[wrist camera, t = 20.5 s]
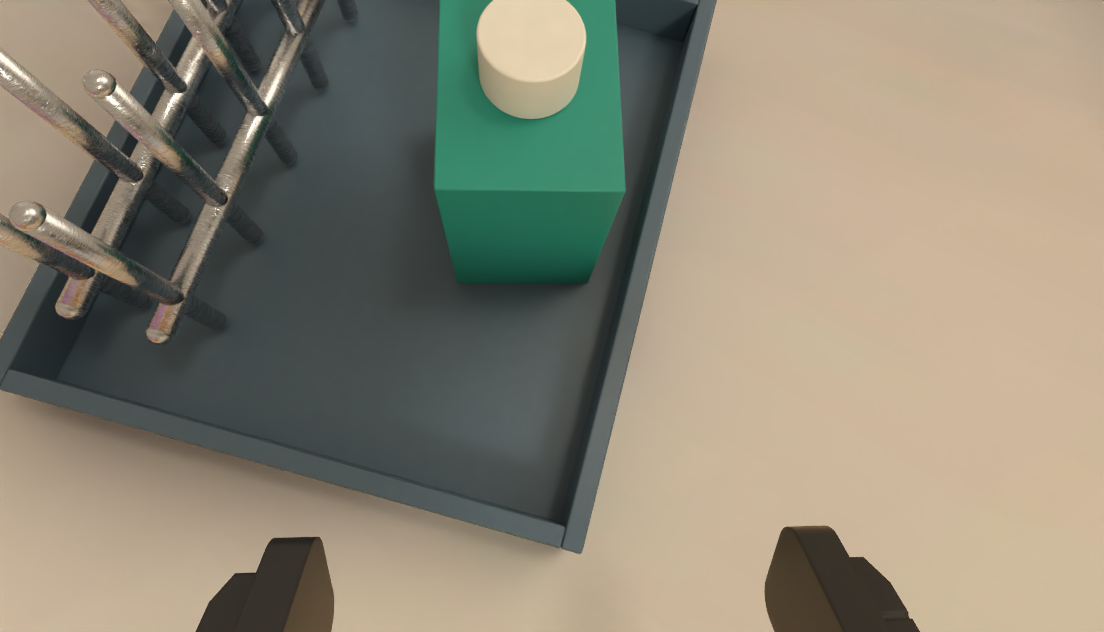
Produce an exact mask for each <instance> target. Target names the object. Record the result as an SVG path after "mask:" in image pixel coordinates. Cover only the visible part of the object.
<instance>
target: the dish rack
mask: <svg viewBox="0 0 1104 632" xmlns="http://www.w3.org/2000/svg"><path fill="white" fill-rule="evenodd" d="M88 1H89V3H90V4H91V5H92V6H93V7H94V8H95V9H96V11H97V12H98V13H99V14H100V15H101V16H102V17H103V19H104V20H105V21H106V22H107V23H108V24H109V25H110V27H111V28H112V29H113V30H114V31H115V32H116V34H117V35H118V36H119V37H120V38H121V39H122V40H123V42H124V43H125V44H126V45H127V46H128V47H129V48H130V50H131V51H132V52H133V53H134V54H135V55H136V56H137V58H138V59H139V60H140V61H141V62H142V63H143V65H144V66H145V67H146V68H147V69H148V70H149V71H150V73H151V74H152V75H153V76H154V77H155V78H156V79H157V81H158V82H159V83H160V84H161V85H162V86H163V88H164V89H165V90H164V92H163V94H162V96H161V98H160V100H159V102H158V104H157V106H156V108H155V110H154V112H153V114H152V116H151V115H150V114H149V113H148V112H147V111H146V110H145V108H144V107H143V106H142V105H141V104H140V103H139V102H138V101H137V100H136V99H135V98H134V97H133V96H132V95H131V94H130V93H129V92H128V91H127V90H126V89H125V88H124V87H123V86H122V85H121V84H120V83H119V82H118V81H117V80H116V79H115V78H114V77H113V76H112V75H111V74H110V73H108V72H106V71H103V70H92V71H89V72H88V73H86V74H85V76H84V78H83V87H84V89H85V91H86V92H87V94H88V95H89V96H90V97H92V98H93V99H94V100H95V101H96V102H97V103H98V104H99V105H100V106H101V107H102V108H103V109H104V110H106V111H107V112H108V113H109V114H110V115H111V116H112V117H113V118H114V119H115V120H116V121H117V122H119V123H120V124H121V125H122V126H123V127H124V128H125V129H126V130H127V131H128V132H129V133H130V134H132V135H133V136H134V137H135V138H136V139H137V140H138V143H137V145H136V147H135V149H134V151H133V153H132V155H131V157H130V158H129V157H128V156H126V155H125V154H124V153H123V152H122V151H121V150H119V149H118V148H117V147H116V146H115V145H114V144H112V143H111V142H110V141H109V140H108V139H107V138H105V137H104V136H103V135H102V134H101V133H100V132H98V131H97V130H96V129H95V128H94V127H93V126H91V125H90V124H89V123H88V122H87V121H86V120H84V119H83V118H82V117H81V116H80V115H79V114H77V113H76V112H75V111H74V110H73V109H72V108H70V107H69V106H68V105H67V104H66V103H65V102H63V101H62V100H61V99H60V98H59V97H58V96H56V95H55V94H54V93H53V92H52V91H51V90H49V89H48V88H47V87H46V86H45V85H44V84H42V83H41V82H40V81H39V80H38V79H37V78H35V77H34V76H33V75H32V74H31V73H30V72H28V71H27V70H26V69H25V68H24V67H23V66H21V65H20V64H19V63H18V62H17V61H16V60H14V59H13V58H12V57H11V56H10V55H9V54H7V53H6V52H5V51H4V50H3V49H2V48H0V86H2V87H3V88H4V89H5V90H7V91H8V92H9V93H11V94H12V95H13V96H14V97H16V98H17V99H18V100H20V101H21V102H22V103H23V104H25V105H26V106H27V107H28V108H30V109H31V110H32V111H34V112H35V113H36V114H37V115H39V116H40V117H41V118H43V119H44V120H45V121H46V122H48V123H49V124H50V125H51V126H53V127H54V128H55V129H57V130H58V131H59V132H60V133H62V134H63V135H64V136H66V137H67V138H68V139H69V140H71V141H72V142H73V143H74V144H76V145H77V146H78V147H80V148H81V149H82V150H83V151H85V152H86V153H87V154H89V155H90V156H91V157H92V158H94V159H95V160H96V161H97V162H99V163H100V164H101V165H103V166H104V167H105V168H106V169H108V170H109V171H110V172H112V173H113V174H114V175H115V176H117V177H118V178H119V180H118V182H117V184H116V186H115V188H114V190H113V192H112V194H111V196H110V198H109V200H108V202H107V204H106V206H105V208H104V210H103V212H102V214H101V216H100V218H99V220H98V222H97V224H96V226H95V228H94V229H93V231H92V233H91V234H89V233H88V232H86V231H84V230H83V229H81V228H79V227H78V226H76V225H74V224H73V223H71V222H69V221H68V220H66V219H64V218H63V217H61V216H59V215H58V214H56V213H54V212H52V211H51V210H49V209H47V208H46V207H44V206H42V205H41V204H39V203H36V202H32V201H22V202H19V203H17V204H15V205H14V206H13V207H12V208H11V209H10V212H9V218H7V217H5V216H3V215H1V214H0V245H2V246H4V247H6V248H8V249H11V250H13V251H15V252H17V253H19V254H21V255H23V256H26V257H28V258H30V259H32V260H34V261H36V262H38V263H41V264H43V265H45V266H47V267H49V268H51V269H53V270H56V271H58V272H60V273H62V274H64V275H66V276H68V277H69V279H68V281H67V283H66V284H65V286H64V288H63V290H62V292H61V294H60V296H59V298H58V300H57V302H56V305H55V309H56V312H57V314H58V315H59V316H60V317H62V318H64V319H67V320H77V319H79V318H81V317H83V316H84V315H85V314H86V312H87V310H88V308H89V306H90V304H91V302H92V300H93V298H94V296H95V294H96V292H97V290H98V291H100V292H103V293H105V294H107V295H109V296H111V297H113V298H115V299H118V300H120V301H122V302H124V303H126V304H128V305H130V306H132V307H135V308H138V309H141V308H145V307H147V306H148V305H149V304H150V302H151V298H152V299H154V300H156V301H158V304H157V306H156V308H155V310H154V312H153V315H152V317H151V319H150V321H149V323H148V325H147V328H146V331H145V334H146V337H147V339H148V340H149V341H150V342H151V343H152V344H155V345H166V344H168V343H170V342H171V341H172V340H173V339H174V337H175V335H176V333H177V331H178V329H179V326H180V324H181V322H182V320H183V318H184V315H185V316H187V317H189V318H191V319H193V320H195V321H197V322H199V323H200V324H202V325H204V326H206V327H208V328H210V329H212V330H221V329H223V328H224V327H225V326H226V325H227V321H228V320H227V317H226V315H225V314H224V313H222V312H221V311H219V310H217V309H216V308H214V307H212V306H211V305H209V304H207V303H206V302H204V301H202V300H200V299H199V298H197V297H195V296H194V293H195V291H196V289H197V286H198V284H199V282H200V280H201V277H202V275H203V273H204V271H205V268H206V266H207V264H208V262H209V260H210V257H211V255H212V253H213V251H214V248H215V246H216V244H217V242H218V239H219V237H220V235H221V233H222V231H223V228H224V226H225V224H226V222H227V223H228V224H229V225H230V226H231V227H232V228H233V229H234V230H235V231H236V232H237V233H239V234H240V235H241V236H242V237H243V238H244V239H245V240H246V241H247V242H249V243H251V244H258V243H260V242H261V241H262V240H263V238H264V232H263V230H262V229H261V228H260V227H259V226H258V225H257V224H256V223H255V222H254V221H253V220H252V219H251V218H250V217H249V216H248V215H247V214H246V213H245V212H244V211H243V209H242V208H241V207H240V206H239V205H238V204H237V203H236V199H237V197H238V195H239V193H240V190H241V188H242V186H243V184H244V182H245V179H246V177H247V175H248V173H249V170H250V168H251V166H252V164H253V161H254V159H255V157H256V155H257V153H258V150H259V148H260V146H261V144H262V141H263V139H264V137H265V139H266V140H267V141H268V143H269V144H270V146H271V147H272V149H273V150H274V151H275V153H276V154H277V156H278V157H279V159H280V160H281V161H282V162H283V163H285V164H293V163H295V162H296V161H297V159H298V154H297V151H296V150H295V148H294V147H293V145H292V143H291V142H290V140H289V139H288V137H287V136H286V134H285V132H284V131H283V129H282V128H281V126H280V125H279V123H278V121H277V120H276V118H275V117H274V115H275V112H276V110H277V108H278V106H279V104H280V101H281V99H282V97H283V95H284V92H285V90H286V88H287V86H288V83H289V81H290V79H291V77H292V75H293V72H294V70H295V68H296V66H297V63H298V61H299V59H300V61H301V63H302V65H303V67H304V69H305V71H306V73H307V75H308V77H309V79H310V81H311V83H312V85H313V87H314V88H315V89H317V90H320V91H323V90H326V89H327V88H328V86H329V79H328V76H327V74H326V72H325V70H324V67H323V65H322V63H321V60H320V58H319V56H318V54H317V51H316V49H315V47H314V45H313V42H312V40H311V38H310V34H311V32H312V30H313V28H314V25H315V23H316V21H317V19H318V17H319V14H320V12H321V10H322V8H323V5H324V3H325V1H326V0H298V1H297V4H295V2H294V0H271V2H272V4H273V6H274V8H275V10H276V12H277V14H278V16H279V18H280V20H281V22H282V24H283V26H284V28H285V30H284V32H283V34H282V36H281V38H280V40H279V43H278V45H277V47H276V49H275V51H274V53H273V55H272V58H271V60H270V62H269V64H268V66H267V68H266V71H265V73H264V75H263V77H262V79H261V81H260V84H259V86H258V88H256V87H255V85H254V84H253V82H252V81H251V79H250V77H249V76H248V74H247V73H246V71H245V70H244V68H243V66H244V67H245V68H246V69H247V70H249V71H257V70H258V69H259V68H260V67H261V61H260V58H259V57H258V55H257V53H256V51H255V50H254V48H253V46H252V45H251V43H250V41H249V39H248V38H247V36H246V34H245V33H244V31H243V29H242V27H241V26H240V24H239V22H238V21H237V19H236V17H235V15H234V12H235V10H236V8H237V6H238V4H239V2H240V0H202V1H203V2H204V4H205V6H206V7H207V8H205V7H204V5H203V4H202V2H201V0H168V1H169V2H170V4H171V5H172V6H173V8H174V9H175V11H176V12H177V13H178V15H179V16H180V18H181V19H182V21H183V22H184V23H185V25H186V26H187V28H188V29H189V31H190V32H191V33H192V37H191V39H190V41H189V43H188V45H187V47H186V49H185V51H184V53H183V55H182V57H181V59H180V61H179V63H178V65H177V66H176V68H174V66H173V65H172V64H171V63H170V61H169V60H168V59H167V58H166V56H165V55H164V54H163V53H162V51H161V50H160V49H159V48H158V46H157V45H156V44H155V43H154V41H153V40H152V39H151V38H150V36H149V35H148V34H147V33H146V31H145V30H144V29H143V28H142V26H141V25H140V24H139V23H138V21H137V20H136V19H135V18H134V16H133V15H132V14H131V13H130V11H129V10H128V9H127V8H126V6H125V5H124V4H123V3H122V1H121V0H88ZM337 2H338V5H339V8H340V11H341V14H342V16H343V18H344V19H345V20H346V21H348V22H354V21H356V20H357V18H358V16H359V12H358V9H357V5H356V2H355V0H337ZM223 35H224V36H225V37H226V39H227V40H228V42H229V43H230V45H231V47H232V48H233V50H234V51H235V53H236V55H237V56H238V58H239V59H240V61H241V62H242V64H243V66H242V65H241V63H240V62H239V60H238V59H237V57H236V55H235V54H234V52H233V51H232V49H231V48H230V46H229V44H228V43H227V41H226V40H225V38H224V37H223ZM210 61H211V62H212V63H213V65H214V66H215V68H216V69H217V70H218V72H219V73H220V75H221V76H222V77H223V79H224V80H225V82H226V83H227V85H228V86H229V87H230V89H231V90H232V92H233V93H234V95H235V96H236V97H237V99H238V100H239V102H240V103H241V104H242V106H243V107H244V109H245V110H246V114H245V116H244V118H243V120H242V122H241V125H240V127H239V129H238V131H237V133H236V135H235V138H234V140H233V142H232V144H231V146H230V148H229V150H228V153H227V155H226V157H225V159H224V161H223V163H222V166H221V168H220V170H219V172H218V174H217V176H216V179H215V181H214V180H213V179H212V178H211V176H210V175H209V174H208V173H207V172H206V171H205V170H204V169H203V168H202V167H201V166H200V165H199V164H198V163H197V162H196V161H195V160H194V159H193V158H192V157H191V156H190V155H189V154H188V153H187V152H186V151H185V150H184V149H183V148H182V147H181V146H180V145H179V144H178V142H177V141H176V140H175V139H174V138H173V136H174V134H175V132H176V130H177V128H178V126H179V124H180V122H181V120H182V118H183V116H184V114H185V113H186V114H187V115H188V116H189V117H190V119H191V120H192V121H193V122H194V123H195V124H196V125H197V127H198V128H199V129H200V130H201V131H202V132H203V133H204V135H205V136H206V137H207V138H208V139H209V140H210V141H211V142H212V143H214V144H223V143H224V142H225V141H226V140H227V133H226V131H225V130H224V129H223V127H222V126H221V125H220V124H219V122H218V121H217V120H216V119H215V117H214V116H213V115H212V114H211V112H210V111H209V110H208V109H207V107H206V106H205V105H204V104H203V102H202V101H201V100H200V99H199V97H198V96H197V95H196V94H195V92H196V90H197V87H198V85H199V83H200V81H201V79H202V77H203V75H204V73H205V71H206V69H207V67H208V65H209V63H210ZM160 162H162V163H163V164H164V165H165V166H166V167H167V168H168V169H169V170H170V171H171V172H173V173H174V174H175V175H176V176H177V177H178V178H179V179H180V180H181V181H182V182H183V183H184V184H186V185H187V186H188V187H189V188H190V189H191V190H192V191H193V192H194V193H195V194H196V195H197V196H199V197H200V198H201V199H202V200H203V201H204V204H203V207H202V209H201V211H200V213H199V215H198V217H197V220H196V222H195V224H194V226H193V228H192V230H191V233H190V235H189V237H188V239H187V241H186V243H185V245H184V248H183V250H182V252H181V254H180V256H179V258H178V261H177V263H176V265H175V267H174V269H173V271H172V274H171V276H170V278H169V280H167V279H165V278H163V277H162V276H160V275H158V274H157V273H155V272H153V271H152V270H150V269H148V268H147V267H145V266H143V265H142V264H140V263H138V262H137V261H135V260H133V259H132V258H130V257H128V256H126V255H125V254H123V253H121V252H120V251H118V248H119V246H120V244H121V242H122V240H123V237H124V235H125V233H126V231H127V229H128V227H129V225H130V223H131V221H132V219H133V217H134V215H135V213H136V211H137V209H138V207H139V205H140V203H141V201H142V199H143V198H145V199H146V200H147V201H149V202H150V203H151V204H152V205H154V206H155V207H156V208H158V209H159V210H160V211H161V212H163V213H164V214H165V215H167V216H168V217H169V218H170V219H172V220H173V221H174V222H176V223H185V222H187V221H188V220H189V219H190V216H191V213H190V211H189V209H188V208H187V207H186V206H185V205H184V204H182V203H181V202H180V201H179V200H178V199H177V198H175V197H174V196H173V195H172V194H171V193H170V192H168V191H167V190H166V189H165V188H164V187H163V186H161V185H160V184H159V183H158V182H157V181H156V180H154V179H153V177H154V175H155V173H156V171H157V169H158V167H159V165H160Z"/></svg>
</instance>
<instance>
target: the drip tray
mask: <svg viewBox="0 0 1104 632" xmlns="http://www.w3.org/2000/svg"><path fill="white" fill-rule="evenodd" d="M297 1H298V0H294V2H295V4H297ZM716 1H717V0H615V2H616V21H617V39H618V58H619V76H620V95H621V113H622V132H623V151H624V169H625V188H626V191H625V194H624V196H623V198H622V201H621V203H620V206H619V208H618V211H617V213H616V215H615V218H614V220H613V223H612V225H611V228H610V230H609V233H608V235H607V237H606V240H605V242H604V245H603V247H602V250H601V252H600V255H599V257H598V259H597V262H596V264H595V267H594V269H593V272H592V274H591V277H590V279H589V281H588V283H457V280H456V276H455V272H454V268H453V264H452V260H451V256H450V252H449V248H448V244H447V240H446V236H445V232H444V228H443V224H442V220H441V216H440V212H439V208H438V204H437V200H436V196H435V192H434V156H435V123H436V90H437V57H438V24H439V0H355V2H356V5H357V9H358V12H359V16H358V18H357V20H356V21H354V22H348V21H346V20H345V19H344V18H343V16H342V14H341V11H340V8H339V5H338V2H337V0H326V1H325V3H324V5H323V8H322V10H321V12H320V14H319V17H318V19H317V21H316V23H315V25H314V28H313V30H312V32H311V34H310V38H311V40H312V42H313V45H314V47H315V49H316V51H317V54H318V56H319V58H320V60H321V63H322V65H323V67H324V70H325V72H326V74H327V76H328V79H329V86H328V88H327V89H326V90H323V91H320V90H317V89H315V88H314V87H313V85H312V83H311V81H310V79H309V77H308V75H307V73H306V71H305V69H304V67H303V65H302V63H301V61H300V59H299V61H298V63H297V66H296V68H295V70H294V72H293V75H292V77H291V79H290V81H289V83H288V86H287V88H286V90H285V92H284V95H283V97H282V99H281V101H280V104H279V106H278V108H277V110H276V112H275V115H274V117H275V118H276V120H277V121H278V123H279V125H280V126H281V128H282V129H283V131H284V132H285V134H286V136H287V137H288V139H289V140H290V142H291V143H292V145H293V147H294V148H295V150H296V151H297V154H298V159H297V161H296V162H295V163H293V164H285V163H283V162H282V161H281V160H280V159H279V157H278V156H277V154H276V153H275V151H274V150H273V149H272V147H271V146H270V144H269V143H268V141H267V140H266V139H265V137H264V139H263V141H262V144H261V146H260V148H259V150H258V153H257V155H256V157H255V159H254V161H253V164H252V166H251V168H250V170H249V173H248V175H247V177H246V179H245V182H244V184H243V186H242V188H241V190H240V193H239V195H238V197H237V199H236V203H237V204H238V205H239V206H240V207H241V208H242V209H243V211H244V212H245V213H246V214H247V215H248V216H249V217H250V218H251V219H252V220H253V221H254V222H255V223H256V224H257V225H258V226H259V227H260V228H261V229H262V230H263V232H264V238H263V240H262V241H261V242H260V243H258V244H251V243H249V242H247V241H246V240H245V239H244V238H243V237H242V236H241V235H240V234H239V233H237V232H236V231H235V230H234V229H233V228H232V227H231V226H230V225H229V224H228V223H227V222H226V224H225V226H224V228H223V231H222V233H221V235H220V237H219V239H218V242H217V244H216V246H215V248H214V251H213V253H212V255H211V257H210V260H209V262H208V264H207V266H206V268H205V271H204V273H203V275H202V277H201V280H200V282H199V284H198V286H197V289H196V291H195V293H194V296H195V297H197V298H199V299H200V300H202V301H204V302H206V303H207V304H209V305H211V306H212V307H214V308H216V309H217V310H219V311H221V312H222V313H224V314H225V315H226V317H227V320H228V321H227V325H226V326H225V327H224V328H223V329H221V330H212V329H210V328H208V327H206V326H204V325H202V324H200V323H199V322H197V321H195V320H193V319H191V318H189V317H187V316H185V315H184V318H183V320H182V322H181V324H180V326H179V329H178V331H177V333H176V335H175V337H174V339H173V340H172V341H171V342H170V343H168V344H166V345H155V344H152V343H151V342H150V341H149V340H148V339H147V337H146V334H145V331H146V328H147V325H148V323H149V321H150V319H151V317H152V315H153V312H154V310H155V308H156V306H157V304H158V301H156V300H154V299H152V298H151V302H150V304H149V305H148V306H147V307H145V308H141V309H138V308H135V307H132V306H130V305H128V304H126V303H124V302H122V301H120V300H118V299H115V298H113V297H111V296H109V295H107V294H105V293H103V292H100V291H98V290H97V292H96V294H95V296H94V298H93V300H92V302H91V304H90V306H89V308H88V310H87V312H86V314H85V315H84V316H83V317H81V318H79V319H77V320H67V319H64V318H62V317H60V316H59V315H58V314H57V312H56V309H55V305H56V302H57V300H58V298H59V296H60V294H61V292H62V290H63V288H64V286H65V284H66V283H67V281H68V279H69V277H68V276H66V275H64V274H62V273H60V272H58V271H56V270H53V269H51V268H49V267H47V266H45V265H43V264H41V263H40V265H39V267H38V269H37V271H36V272H35V274H34V276H33V278H32V280H31V282H30V284H29V286H28V288H27V290H26V291H25V293H24V295H23V297H22V299H21V301H20V303H19V305H18V307H17V309H16V311H15V312H14V314H13V316H12V318H11V320H10V322H9V324H8V326H7V328H6V330H5V331H4V333H3V335H2V337H1V339H0V390H2V391H6V392H9V393H13V394H17V395H20V396H24V397H27V398H31V399H34V400H38V401H41V402H45V403H48V404H52V405H55V406H59V407H62V408H66V409H69V410H73V411H77V412H80V413H84V414H87V415H91V416H94V417H98V418H101V419H105V420H108V421H112V422H115V423H119V424H122V425H126V426H129V427H133V428H137V429H140V430H144V431H147V432H151V433H154V434H158V435H161V436H165V437H168V438H172V439H175V440H179V441H182V442H186V443H190V444H193V445H197V446H200V447H204V448H207V449H211V450H214V451H218V452H221V453H225V454H228V455H232V456H235V457H239V458H242V459H246V460H250V461H253V462H257V463H260V464H264V465H267V466H271V467H274V468H278V469H281V470H285V471H288V472H292V473H295V474H299V475H302V476H306V477H310V478H313V479H317V480H320V481H324V482H327V483H331V484H334V485H338V486H341V487H345V488H348V489H352V490H355V491H359V492H362V493H366V494H370V495H373V496H377V497H380V498H384V499H387V500H391V501H394V502H398V503H401V504H405V505H408V506H412V507H415V508H419V509H422V510H426V511H430V512H433V513H437V514H440V515H444V516H447V517H451V518H454V519H458V520H461V521H465V522H468V523H472V524H475V525H479V526H482V527H486V528H490V529H493V530H497V531H500V532H504V533H507V534H511V535H514V536H518V537H521V538H525V539H528V540H532V541H535V542H539V543H543V544H546V545H550V546H553V547H557V548H560V547H561V548H562V549H564V550H567V551H571V552H574V553H578V554H581V553H582V551H583V547H584V543H585V539H586V534H587V530H588V526H589V522H590V518H591V514H592V510H593V506H594V502H595V497H596V493H597V489H598V485H599V481H600V477H601V473H602V469H603V465H604V461H605V456H606V452H607V448H608V444H609V440H610V436H611V432H612V428H613V424H614V420H615V415H616V411H617V407H618V403H619V399H620V395H621V391H622V387H623V383H624V378H625V374H626V370H627V366H628V362H629V358H630V354H631V350H632V346H633V342H634V337H635V333H636V329H637V325H638V321H639V317H640V313H641V309H642V305H643V300H644V296H645V292H646V288H647V284H648V280H649V276H650V272H651V268H652V264H653V259H654V255H655V251H656V247H657V243H658V239H659V235H660V231H661V227H662V223H663V218H664V214H665V210H666V206H667V202H668V198H669V194H670V190H671V186H672V181H673V177H674V173H675V169H676V165H677V161H678V157H679V153H680V149H681V145H682V140H683V136H684V132H685V128H686V124H687V120H688V116H689V112H690V108H691V103H692V99H693V95H694V91H695V87H696V83H697V79H698V75H699V71H700V67H701V62H702V58H703V54H704V50H705V46H706V42H707V38H708V34H709V30H710V26H711V21H712V17H713V13H714V9H715V5H716ZM201 2H202V4H203V5H204V7H205V8H207V7H206V6H205V4H204V2H203V1H202V0H201ZM234 15H235V17H236V19H237V21H238V22H239V24H240V26H241V27H242V29H243V31H244V33H245V34H246V36H247V38H248V39H249V41H250V43H251V45H252V46H253V48H254V50H255V51H256V53H257V55H258V57H259V58H260V61H261V67H260V68H259V69H258V70H257V71H249V70H247V69H246V68H245V67H244V66H243V64H242V62H241V61H240V59H239V58H238V56H237V55H236V53H235V51H234V50H233V48H232V47H231V45H230V43H229V42H228V40H227V39H226V37H225V36H224V35H223V37H224V38H225V40H226V41H227V43H228V44H229V46H230V48H231V49H232V51H233V52H234V54H235V55H236V57H237V59H238V60H239V62H240V63H241V65H242V66H243V68H244V70H245V71H246V73H247V74H248V76H249V77H250V79H251V81H252V82H253V84H254V85H255V87H256V88H258V86H259V84H260V81H261V79H262V77H263V75H264V73H265V71H266V68H267V66H268V64H269V62H270V60H271V58H272V55H273V53H274V51H275V49H276V47H277V45H278V43H279V40H280V38H281V36H282V34H283V32H284V30H285V28H284V26H283V24H282V22H281V20H280V18H279V16H278V14H277V12H276V10H275V8H274V6H273V4H272V2H271V0H240V2H239V4H238V6H237V8H236V10H235V12H234ZM191 37H192V33H191V32H190V31H189V29H188V28H187V26H186V25H185V23H184V22H183V21H182V19H181V18H180V16H179V15H178V13H177V12H176V11H175V9H174V10H173V12H172V14H171V16H170V18H169V20H168V21H167V23H166V25H165V27H164V29H163V31H162V33H161V35H160V37H159V39H158V40H157V42H156V45H157V46H158V48H159V49H160V50H161V51H162V53H163V54H164V55H165V56H166V58H167V59H168V60H169V61H170V63H171V64H172V65H173V66H174V68H176V66H177V65H178V63H179V61H180V59H181V57H182V55H183V53H184V51H185V49H186V47H187V45H188V43H189V41H190V39H191ZM164 90H165V89H164V88H163V86H162V85H161V84H160V83H159V82H158V81H157V79H156V78H155V77H154V76H153V75H152V74H151V73H150V71H149V70H148V69H147V68H146V67H145V66H144V67H143V69H142V71H141V73H140V75H139V77H138V78H137V80H136V82H135V84H134V86H133V88H132V90H131V92H130V94H131V95H132V96H133V97H134V98H135V99H136V100H137V101H138V102H139V103H140V104H141V105H142V106H143V107H144V108H145V110H146V111H147V112H148V113H149V114H150V115H151V116H152V114H153V112H154V110H155V108H156V106H157V104H158V102H159V100H160V98H161V96H162V94H163V92H164ZM195 94H196V95H197V96H198V97H199V99H200V100H201V101H202V102H203V104H204V105H205V106H206V107H207V109H208V110H209V111H210V112H211V114H212V115H213V116H214V117H215V119H216V120H217V121H218V122H219V124H220V125H221V126H222V127H223V129H224V130H225V131H226V133H227V140H226V141H225V142H224V143H223V144H214V143H212V142H211V141H210V140H209V139H208V138H207V137H206V136H205V135H204V133H203V132H202V131H201V130H200V129H199V128H198V127H197V125H196V124H195V123H194V122H193V121H192V120H191V119H190V117H189V116H188V115H187V114H186V113H185V114H184V116H183V118H182V120H181V122H180V124H179V126H178V128H177V130H176V132H175V134H174V136H173V138H174V139H175V140H176V141H177V142H178V144H179V145H180V146H181V147H182V148H183V149H184V150H185V151H186V152H187V153H188V154H189V155H190V156H191V157H192V158H193V159H194V160H195V161H196V162H197V163H198V164H199V165H200V166H201V167H202V168H203V169H204V170H205V171H206V172H207V173H208V174H209V175H210V176H211V178H212V179H213V180H214V181H215V179H216V176H217V174H218V172H219V170H220V168H221V166H222V163H223V161H224V159H225V157H226V155H227V153H228V150H229V148H230V146H231V144H232V142H233V140H234V138H235V135H236V133H237V131H238V129H239V127H240V125H241V122H242V120H243V118H244V116H245V114H246V110H245V109H244V107H243V106H242V104H241V103H240V102H239V100H238V99H237V97H236V96H235V95H234V93H233V92H232V90H231V89H230V87H229V86H228V85H227V83H226V82H225V80H224V79H223V77H222V76H221V75H220V73H219V72H218V70H217V69H216V68H215V66H214V65H213V63H212V62H211V61H210V63H209V65H208V67H207V69H206V71H205V73H204V75H203V77H202V79H201V81H200V83H199V85H198V87H197V90H196V92H195ZM106 138H107V139H108V140H109V141H110V142H111V143H112V144H114V145H115V146H116V147H117V148H118V149H119V150H121V151H122V152H123V153H124V154H125V155H126V156H128V157H129V158H130V157H131V155H132V153H133V151H134V149H135V147H136V145H137V143H138V140H137V139H136V138H135V137H134V136H133V135H132V134H130V133H129V132H128V131H127V130H126V129H125V128H124V127H123V126H122V125H121V124H120V123H119V122H117V121H116V120H115V122H114V124H113V126H112V128H111V130H110V132H109V134H108V136H107V137H106ZM153 179H154V180H156V181H157V182H158V183H159V184H160V185H161V186H163V187H164V188H165V189H166V190H167V191H168V192H170V193H171V194H172V195H173V196H174V197H175V198H177V199H178V200H179V201H180V202H181V203H182V204H184V205H185V206H186V207H187V208H188V209H189V211H190V213H191V216H190V219H189V220H188V221H187V222H185V223H176V222H174V221H173V220H172V219H170V218H169V217H168V216H167V215H165V214H164V213H163V212H161V211H160V210H159V209H158V208H156V207H155V206H154V205H152V204H151V203H150V202H149V201H147V200H146V199H145V198H143V199H142V201H141V203H140V205H139V207H138V209H137V211H136V213H135V215H134V217H133V219H132V221H131V223H130V225H129V227H128V229H127V231H126V233H125V235H124V237H123V240H122V242H121V244H120V246H119V248H118V251H120V252H121V253H123V254H125V255H126V256H128V257H130V258H132V259H133V260H135V261H137V262H138V263H140V264H142V265H143V266H145V267H147V268H148V269H150V270H152V271H153V272H155V273H157V274H158V275H160V276H162V277H163V278H165V279H167V280H169V278H170V276H171V274H172V271H173V269H174V267H175V265H176V263H177V261H178V258H179V256H180V254H181V252H182V250H183V248H184V245H185V243H186V241H187V239H188V237H189V235H190V233H191V230H192V228H193V226H194V224H195V222H196V220H197V217H198V215H199V213H200V211H201V209H202V207H203V204H204V201H203V200H202V199H201V198H200V197H199V196H197V195H196V194H195V193H194V192H193V191H192V190H191V189H190V188H189V187H188V186H187V185H186V184H184V183H183V182H182V181H181V180H180V179H179V178H178V177H177V176H176V175H175V174H174V173H173V172H171V171H170V170H169V169H168V168H167V167H166V166H165V165H164V164H163V163H162V162H160V165H159V167H158V169H157V171H156V173H155V175H154V177H153ZM118 180H119V178H118V177H117V176H115V175H114V174H113V173H112V172H110V171H109V170H108V169H106V168H105V167H104V166H103V165H101V164H100V163H99V162H97V161H96V160H94V162H93V164H92V166H91V168H90V170H89V172H88V174H87V175H86V177H85V179H84V181H83V183H82V185H81V187H80V189H79V191H78V193H77V194H76V196H75V198H74V200H73V202H72V204H71V206H70V208H69V210H68V212H67V214H66V215H65V217H64V219H66V220H68V221H69V222H71V223H73V224H74V225H76V226H78V227H79V228H81V229H83V230H84V231H86V232H88V233H89V234H91V233H92V231H93V229H94V228H95V226H96V224H97V222H98V220H99V218H100V216H101V214H102V212H103V210H104V208H105V206H106V204H107V202H108V200H109V198H110V196H111V194H112V192H113V190H114V188H115V186H116V184H117V182H118Z"/></svg>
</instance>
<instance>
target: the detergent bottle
mask: <svg viewBox="0 0 1104 632" xmlns="http://www.w3.org/2000/svg"><path fill="white" fill-rule="evenodd" d="M625 191H626V188H625V169H624V151H623V132H622V113H621V95H620V76H619V58H618V39H617V21H616V2H615V0H439V24H438V57H437V90H436V123H435V156H434V192H435V196H436V200H437V204H438V208H439V212H440V216H441V220H442V224H443V228H444V232H445V236H446V240H447V244H448V248H449V252H450V256H451V260H452V264H453V268H454V272H455V276H456V280H457V283H588V281H589V279H590V277H591V274H592V272H593V269H594V267H595V264H596V262H597V259H598V257H599V255H600V252H601V250H602V247H603V245H604V242H605V240H606V237H607V235H608V233H609V230H610V228H611V225H612V223H613V220H614V218H615V215H616V213H617V211H618V208H619V206H620V203H621V201H622V198H623V196H624V194H625Z"/></svg>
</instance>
